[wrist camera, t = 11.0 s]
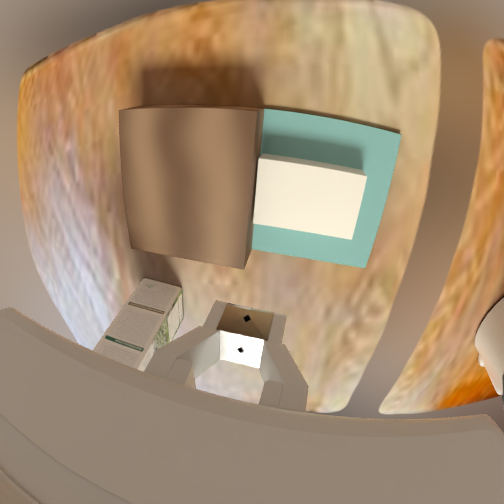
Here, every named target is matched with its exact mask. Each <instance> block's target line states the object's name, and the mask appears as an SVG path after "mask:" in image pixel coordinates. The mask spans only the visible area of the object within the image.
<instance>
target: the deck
mask: <svg viewBox="0 0 504 504" xmlns="http://www.w3.org/2000/svg"><path fill="white" fill-rule="evenodd" d="M263 120H264V108H253V107H240V106H224V105H148V106H138V107H133V108H128V109H123V110H119V136H120V155H121V169H122V181H123V191H124V200H125V209H126V217H127V224H128V231H129V238H130V244H131V248H132V249H137V250H142V251H147V252H152V253H158V254H163V255H168V256H173V257H178V258H184V259H189V260H194V261H200V262H205V263H210V264H216V265H221V266H227V267H232V268H238V269H244V268H245V266H246V263H247V260H248V257H249V255H250V252H251V249H252V240H253V229H254V224H253V218H254V207H255V195H256V183H257V171H258V160H259V157H260V152H261V141H262V130H263Z"/></svg>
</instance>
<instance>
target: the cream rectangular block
mask: <svg viewBox="0 0 504 504" xmlns="http://www.w3.org/2000/svg"><path fill="white" fill-rule="evenodd" d="M366 180H367V175H366V174H365V172H364V171H363V170H360V169H355V168H350V167H345V166H340V165H335V164H329V163H324V162H318V161H312V160H306V159H300V158H293V157H286V156H279V155H271V154H263V153H262V155H261V156H260V157H259V160H258V171H257V183H256V195H255V207H254V218H253V224H260V225H266V226H273V227H279V228H285V229H291V230H298V231H304V232H310V233H316V234H321V235H327V236H333V237H339V238H344V239H350V240H352V237H353V233H354V229H355V226H356V222H357V218H358V214H359V210H360V206H361V202H362V197H363V193H364V189H365V184H366Z"/></svg>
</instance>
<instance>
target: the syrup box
mask: <svg viewBox="0 0 504 504" xmlns="http://www.w3.org/2000/svg"><path fill="white" fill-rule="evenodd" d="M183 318H184V315H183V300H182V288H181V287H178V286H174V285H171V284H167V283H163V282H159V281H155V280H151V279H147V278H144V279H143V280H142V281H141V283H140V284H139V285H138V287H137V288H136V290H135V291H134V292H133V294H132V295H131V296H130V298H129V299H128V301H127V302H126V303H125V305H124V306H123V308H122V309H121V310H120V312H119V313H118V315H117V316H116V317H115V319H114V320H113V322H112V323H111V325H110V326H109V328H108V329H107V330H106V332H105V333H104V335H103V336H102V338H101V339H100V341H99V342H98V344H97V345H96V347H95V348H94V350H93V351H94V352H96V353H99V354H101V355H103V356H106V357H108V358H110V359H113V360H115V361H117V362H120V363H122V364H125V365H127V366H130V367H132V368H135V369H138V370H140V371H143V372H144V370H145V369H146V367H147V365H148V363H149V362H150V360H151V358H152V356H153V355H154V353H155V351H156V350H157V349H159V348H161V347H162V346H164V345H166V344H168V343H170V342H172V340H173V338H174V336H175V334H176V332H177V330H178V328H179V326H180V324H181V322H182V320H183Z"/></svg>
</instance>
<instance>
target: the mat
mask: <svg viewBox="0 0 504 504" xmlns="http://www.w3.org/2000/svg"><path fill="white" fill-rule="evenodd" d="M400 138H401V134H397V133H394V132H390V131H386V130H383V129H379V128H375V127H371V126H366V125H362V124H358V123H353V122H348V121H344V120H339V119H333V118H328V117H322V116H317V115H310V114H304V113H297V112H290V111H282V110H273V109H264V120H263V130H262V141H261V152H260V156H261V155H262V153H263V154H271V155H279V156H286V157H293V158H300V159H306V160H312V161H318V162H324V163H329V164H335V165H340V166H345V167H350V168H355V169H360V170H363V171H364V172H365V174H366V175H367V180H366V184H365V189H364V193H363V197H362V202H361V206H360V210H359V214H358V218H357V222H356V226H355V229H354V233H353V237H352V240H350V239H344V238H339V237H333V236H327V235H321V234H316V233H310V232H304V231H298V230H291V229H285V228H279V227H273V226H266V225H260V224H254V229H253V240H252V249H255V250H261V251H266V252H272V253H278V254H284V255H290V256H296V257H302V258H308V259H314V260H320V261H325V262H331V263H337V264H343V265H349V266H355V267H361V268H365V267H366V264H367V261H368V258H369V255H370V252H371V249H372V246H373V243H374V240H375V237H376V233H377V230H378V227H379V224H380V220H381V217H382V213H383V210H384V206H385V202H386V199H387V195H388V191H389V187H390V183H391V179H392V175H393V171H394V167H395V162H396V158H397V153H398V148H399V143H400Z"/></svg>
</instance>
